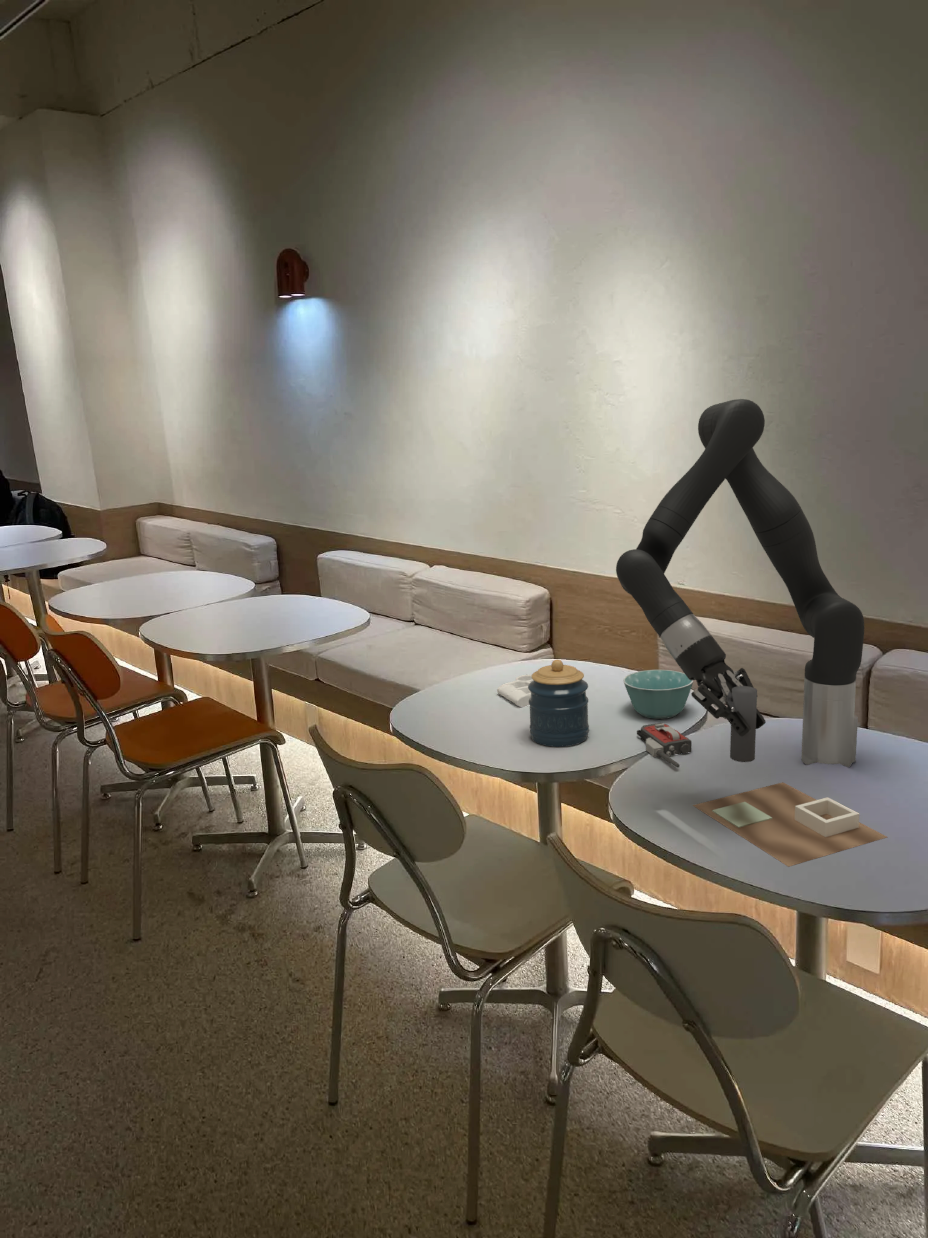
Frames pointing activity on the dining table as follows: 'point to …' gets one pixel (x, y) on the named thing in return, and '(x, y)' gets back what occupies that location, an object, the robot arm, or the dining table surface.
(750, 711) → the plug
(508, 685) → the white brass knuckles
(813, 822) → the white square frame
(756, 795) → the brown wooden flat board
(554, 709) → the canister
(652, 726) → the walkie-talkie
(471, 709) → the dining table surface
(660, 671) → the bowl
